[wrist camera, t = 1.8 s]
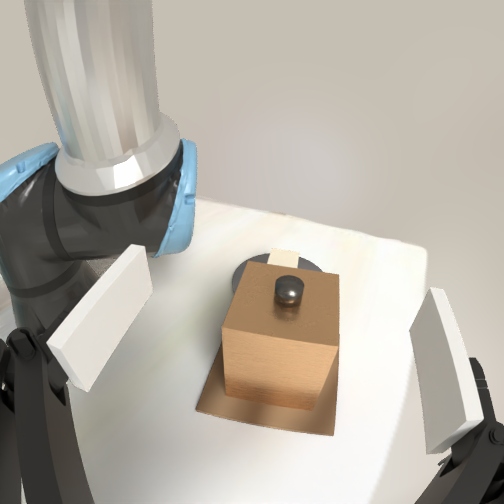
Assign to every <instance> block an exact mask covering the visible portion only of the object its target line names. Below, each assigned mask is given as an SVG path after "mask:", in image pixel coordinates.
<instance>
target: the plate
mask: <svg viewBox="0 0 504 504" xmlns="http://www.w3.org/2000/svg"><path fill="white" fill-rule="evenodd" d="M269 256H270V253H269V254H262V255H258V256H255V257H252V258H250V259H248V260H246V261H245V262H243V263H242V264H241V265H240V266H239V267H238V268H237V269H236V271H235V273H234V276H233V291H234V294H235V292H236V290H237V287H238V285H239V282H240V280H241V277H242V275H243V272H244V270H245V267H246V265H247V262H248V261H253V262H259V263H266V264H267V262H268V259H269ZM297 268H298V269H305V270H312V271H318V272H323V271H322V270H321V269H320V268H319V267H318V266H316V265H315V264H313V263H312V262H310V261H308V260H306V259H304V258H301V257H299V259H298V266H297Z"/></svg>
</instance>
